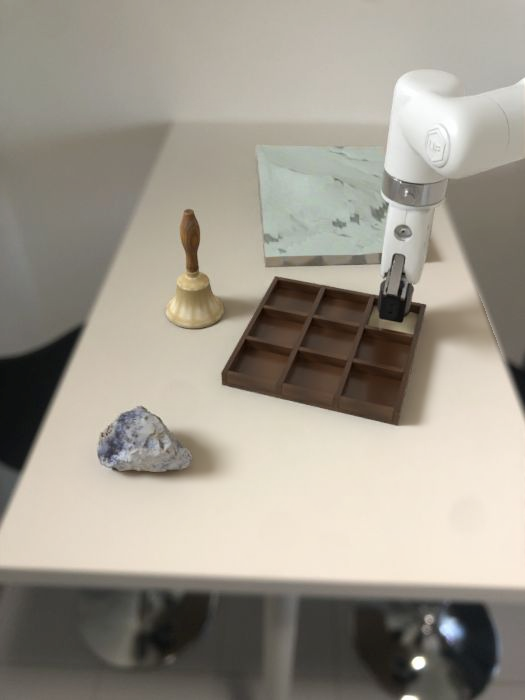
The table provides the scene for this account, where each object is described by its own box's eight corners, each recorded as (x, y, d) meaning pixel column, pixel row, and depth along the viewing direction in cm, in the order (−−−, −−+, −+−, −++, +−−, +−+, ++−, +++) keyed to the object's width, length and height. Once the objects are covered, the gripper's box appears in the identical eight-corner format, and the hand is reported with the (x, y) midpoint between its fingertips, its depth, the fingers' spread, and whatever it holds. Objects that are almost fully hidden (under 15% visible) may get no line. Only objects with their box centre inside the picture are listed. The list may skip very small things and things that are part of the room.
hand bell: (232, 299, 98) (229, 200, 88) (212, 334, 92) (205, 231, 82) (179, 289, 100) (169, 190, 89) (156, 322, 94) (143, 221, 83)
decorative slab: (244, 159, 133) (244, 134, 130) (381, 156, 134) (384, 131, 131) (251, 267, 104) (251, 239, 101) (425, 262, 105) (430, 234, 102)
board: (424, 316, 95) (426, 304, 94) (397, 425, 79) (399, 413, 78) (274, 287, 100) (275, 275, 99) (221, 384, 84) (221, 372, 83)
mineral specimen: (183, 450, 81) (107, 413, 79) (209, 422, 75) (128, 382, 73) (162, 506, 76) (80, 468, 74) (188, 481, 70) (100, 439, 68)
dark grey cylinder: (412, 302, 92) (416, 281, 90) (407, 321, 89) (411, 299, 87) (380, 296, 93) (383, 275, 91) (374, 315, 90) (377, 293, 88)
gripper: (437, 224, 72) (412, 353, 84) (455, 158, 84) (430, 279, 96) (368, 213, 74) (353, 340, 86) (395, 150, 86) (378, 269, 98)
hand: (394, 307), depth 91 cm, fingers closed on dark grey cylinder, 4 cm apart
